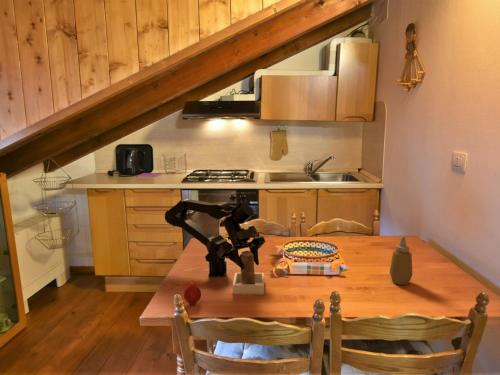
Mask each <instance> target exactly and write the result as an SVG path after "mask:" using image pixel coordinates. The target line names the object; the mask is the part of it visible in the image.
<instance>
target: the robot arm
mask: <svg viewBox="0 0 500 375" xmlns="http://www.w3.org/2000/svg"><path fill="white" fill-rule="evenodd" d="M188 211H192V212H196V213H197V212H198V213H202V214H206V215H208V216H209V217H211V218H213V219H215V220H220V223H219V225H218V227H219V228H224V229H225V232H226V233H227V236H228V237H227V239H226V238H224V237H223V236H222V235H221V234H220V235H216V236H213V235H212V234H211V233H209V232H208V231H206V230H205V229H204V228H202V227H201V226H200V225H198V224H197V223H195V222H194V221H193V220H192V219H190V218H189V215H188ZM254 214H255V212H254V209H253V207H251V206H250V205H249V204H247V203H245V202H244V201H241V202H239V203H237V205H236V206H233V205H230V203H229V202H226V201H219V202H218V201H217V202H208V201H201V200H196V199H190V198H187V197H186V198H182V199H180V200H179V201H178V202H177V203H176V204H175V205H173V206H172V207H171V208H170V209H169V210H168V209H167V210H166V211H165V214H164V221H165V222H166V223H167V224H168V225H171V226H174V227H177V228H180V229H182V230H184V232H186V233H188V234H189V235H191V236H192V238H194V239H196V240H197V241H198V242H200V243H201V245H202V244H203V245H204V247H205V248H206V250H207V254H206V255H205V256H204V259H205V261H206V262H208V270H209V271H208V272H209V273H208V277H225V276H226V274H227V272H228V268H227V267H228V266H227V263H228V262H227V261H226V259H228V260H230V261H231V262H233V263H234V264H235V265H236V266H238V267H239V268H240V270H241V269H244V265H243V263H242V261H241V258H240V254H239V251H240V250H243V249H247V248H249V251H251V253H252V254H253V258H254V265H256V266H259V264H260V262H259V261H260V260H259V249H261V248H262V247H263V245H264V244H265V243H266V239H265V237H264V236H262V235H260V236H256V237H255V235H256V234H257V232H258V231H257V228H256V227H255V225H251V226H248V228H246V229H245V227H243V228H242V227H241V225H243V224H245V223H246V222H247V221H249V219H251V217H252V216H254ZM223 218H224V219H223ZM252 237H253V238H252ZM251 238H252V239H251ZM250 240H251V241H250ZM229 241H230V242H231V243H230V242H229Z"/></svg>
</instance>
